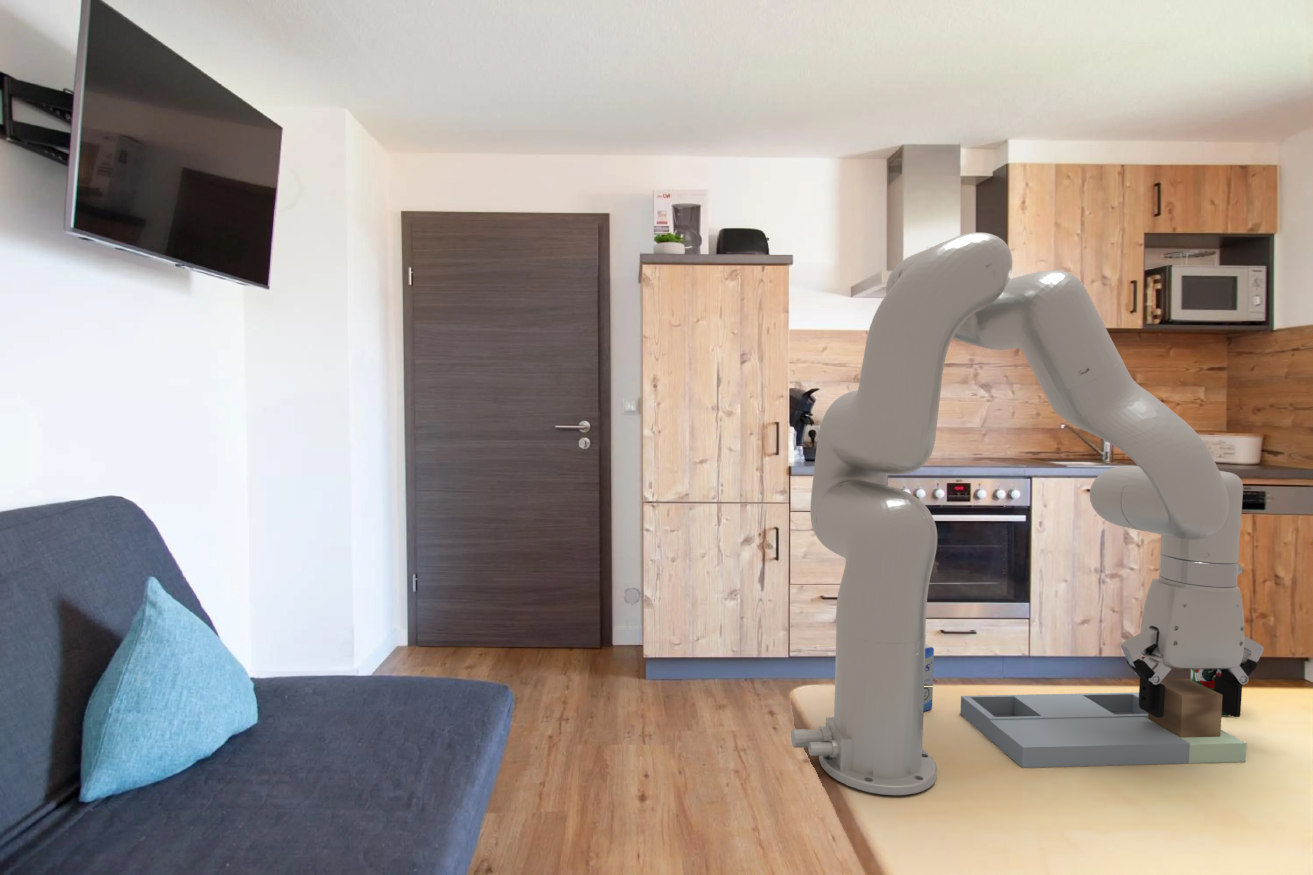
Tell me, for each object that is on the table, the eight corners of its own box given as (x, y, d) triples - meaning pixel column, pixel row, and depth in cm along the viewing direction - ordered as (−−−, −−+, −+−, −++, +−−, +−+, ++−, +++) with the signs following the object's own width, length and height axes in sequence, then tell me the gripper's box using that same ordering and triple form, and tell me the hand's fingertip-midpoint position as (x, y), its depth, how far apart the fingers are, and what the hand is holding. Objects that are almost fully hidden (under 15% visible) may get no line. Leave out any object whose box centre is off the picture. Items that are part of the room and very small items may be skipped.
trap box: (1022, 767, 81) (1023, 745, 81) (960, 714, 95) (961, 695, 95) (1245, 761, 83) (1246, 740, 83) (1153, 710, 97) (1154, 691, 97)
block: (1180, 737, 84) (1182, 695, 84) (1148, 718, 89) (1149, 679, 89) (1220, 736, 85) (1222, 694, 84) (1185, 718, 90) (1187, 678, 89)
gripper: (1237, 566, 91) (1228, 699, 92) (1107, 564, 89) (1099, 700, 90) (1294, 580, 83) (1284, 726, 84) (1153, 579, 82) (1144, 726, 83)
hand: (1188, 712), depth 87 cm, fingers open, 9 cm apart
